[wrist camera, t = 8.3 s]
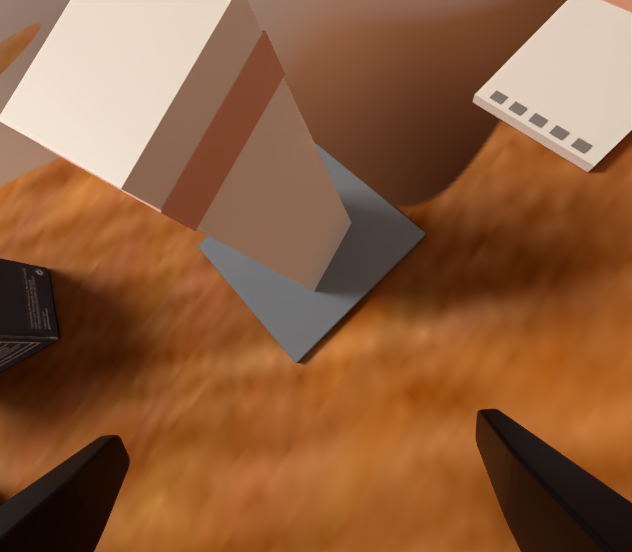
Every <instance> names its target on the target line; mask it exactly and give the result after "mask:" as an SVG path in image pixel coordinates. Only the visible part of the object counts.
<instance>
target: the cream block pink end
mask: <svg viewBox="0 0 632 552" xmlns="http://www.w3.org/2000/svg"><path fill="white" fill-rule="evenodd" d="M473 103H475V104H476V105H478V106H480V107H481V108H483V109H485V110H486V111H488V112H490V113H491V114H493V115H495V116H496V117H498V118H499V119H501V120H503V121H504V122H506V123H508V124H509V125H511V126H513V127H514V128H516V129H517V130H519V131H521V132H522V133H524V134H526V135H527V136H529V137H531V138H532V139H534V140H536V141H537V142H539V143H540V144H542V145H544V146H545V147H547V148H549V149H550V150H552V151H554V152H555V153H557V154H559V155H560V156H562V157H563V158H565V159H567V160H568V161H570V162H572V163H573V164H575V165H577V166H578V167H580V168H582V169H583V170H585V171H586V172H589V171H590V170H591V169H592V168H593V167H594V166H595V165H596V164H597V163H598V162H599V161H600V160H601V159H602V158H603V157H604V156H605V155H606V154H607V153H608V152H609V151H610V150H612V149H613V148H614V147H615V146H616V145H617V144H618V143H619V142H620V141H621V140H622V139H623V138H624V137H625V136H626V135H627V134H628V133H629V132H630V131H631V130H632V0H567V1H566V2H565V3H564V4H563V5H562V6H561V7H560V8H559V9H558V10H557V12H555V13H554V14H553V16H552V17H551V18H550V19H549V20H548V21H547V22H546V23H545V24H544V25H543V26H542V27H541V28H540V29H539V30H538V31H537V32H536V33H535V34H534V35H533V36H532V37H531V38H530V39H529V40H528V41H527V42H526V43H525V44H524V45H523V46H522V47H521V48H520V49H519V50H518V51H517V52H516V53H515V54H514V55H513V56H512V57H511V58H510V59H509V60H508V61H507V62H506V63H505V64H504V65H503V66H502V67H501V68H500V70H498V71H497V73H496V74H495V75H494V76H493V77H492V78H491V79H490V80H489V81H488V82H487V83H486V84H485V85H484V86H483V87H482V88H481V89H480V90H479V91H478V92H477V93H476V94H475V96H474V100H473Z"/></svg>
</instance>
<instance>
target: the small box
mask: <svg viewBox="0 0 632 552" xmlns="http://www.w3.org/2000/svg"><path fill="white" fill-rule="evenodd" d="M58 338H59V334H58V329H57V323H56V317H55V312H54V305H53V299H52V292H51V285H50V278H49V274H48V270H47V268H45V267H39V266H34V265H29V264H25V263H20V262H15V261H10V260H5V259H0V372H1V371H3V370H5V369H7V368H8V367H10V366H12V365H14V364H16V363H18V362H19V361H21V360H23V359H25V358H27V357H28V356H30V355H32V354H34V353H36V352H37V351H39V350H41V349H42V348H44V347H46V346H48V345H50V344H51V343H53V342H55V341H57V340H58Z"/></svg>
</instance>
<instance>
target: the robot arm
mask: <svg viewBox="0 0 632 552" xmlns="http://www.w3.org/2000/svg"><path fill="white" fill-rule="evenodd" d="M476 442H477V446H478V449H479V451H480V454H481V457H482V459H483V462H484V465H485V467H486V470H487V473H488V475H489V478H490V480H491V483H492V486H493V488H494V491H495V494H496V496H497V499H498V502H499V504H500V507H501V509H502V512H503V514H504V517H505V519H506V521H507V523H508V526H509V528H510V530H511V532H512V534H513V536H514V538H515V540H516V542H517V544H518V546H519V548H520V550H521V552H632V503H631V502H630V501H628V500H627V499H625V498H624V497H623V496H621V495H620V494H618V493H617V492H615V491H614V490H613V489H611V488H610V487H608V486H607V485H605V484H604V483H603V482H601V481H600V480H598V479H597V478H595V477H594V476H593V475H591V474H590V473H588V472H587V471H585V470H584V469H582V468H581V467H580V466H578V465H577V464H575V463H574V462H572V461H571V460H570V459H568V458H567V457H565V456H564V455H562V454H561V453H560V452H558V451H557V450H555V449H554V448H552V447H551V446H550V445H548V444H547V443H545V442H544V441H542V440H541V439H540V438H538V437H537V436H535V435H534V434H532V433H531V432H529V431H528V430H527V429H525V428H524V427H522V426H521V425H519V424H518V423H517V422H515V421H514V420H512V419H511V418H509V417H508V416H507V415H505V414H504V413H502V412H501V411H499V410H497V409H481V410H479V411H478V413H477V422H476ZM129 462H130V460H129V456H128V453H127V451H126V449H125V446H124V444H123V442H122V439H121V438H120V437H119V436H118V435H107V436H101V437H99V438H98V439H96V440H95V441H93V442H92V443H90V444H89V445H87V446H86V447H84V448H83V449H82V450H80V451H79V452H77V453H76V454H74V455H73V456H71V457H70V458H69V459H67V460H66V461H64V462H63V463H61V464H60V465H58V466H57V467H56V468H54V469H53V470H51V471H50V472H48V473H47V474H45V475H44V476H43V477H41V478H40V479H38V480H37V481H35V482H34V483H32V484H31V485H30V486H28V487H27V488H25V489H24V490H22V491H21V492H19V493H18V494H17V495H15V496H14V497H12V498H11V499H9V500H8V501H6V502H5V503H4V504H2V505H1V506H0V552H94V550H95V548H96V546H97V544H98V542H99V540H100V538H101V536H102V533H103V531H104V528H105V526H106V524H107V521H108V519H109V516H110V514H111V511H112V508H113V506H114V503H115V501H116V498H117V496H118V493H119V491H120V488H121V486H122V483H123V481H124V478H125V476H126V473H127V471H128V468H129Z"/></svg>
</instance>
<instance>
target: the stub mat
mask: <svg viewBox="0 0 632 552" xmlns="http://www.w3.org/2000/svg"><path fill="white" fill-rule="evenodd" d="M314 143H315V142H314ZM315 146H316V148H317V150H318V152H319V154H320V156H321V158H322V161H323V163H324V165H325V167H326V169H327V171H328V173H329V176H330V178H331V180H332V182H333V184H334V186H335V188H336V190H337V193H338V195H339V197H340V199H341V201H342V203H343V205H344V208H345V210H346V212H347V214H348V216H349V218H350V220H351V225H350V227H349V229H348V230H347V232H346V234H345V236H344V238H343V240H342V241H341V243H340V245H339V247H338V249H337V250H336V252H335V254H334V256H333V258H332V260H331V261H330V263H329V265H328V267H327V269H326V271H325V272H324V274H323V276H322V278H321V280H320V281H319V283H318V285H317V287H316V289H315V291H312V290H310V289H308V288H306V287H304V286H302V285H301V284H299V283H297V282H295V281H293V280H291V279H289V278H287V277H286V276H284V275H282V274H280V273H278V272H276V271H274V270H272V269H271V268H269V267H267V266H265V265H263V264H261V263H259V262H257V261H256V260H254V259H252V258H250V257H248V256H246V255H244V254H242V253H241V252H239V251H237V250H235V249H233V248H231V247H229V246H227V245H225V244H224V243H222V242H220V241H218V240H216V239H214V238H212V237H210V236H209V235H208V236H207V237H206V238H205V239H204V240H203V241H202V242H201V243H200V245H199V246H198V247H199V248H200V250H201V251H202V252H203V253H204V254H205V256H206V257H207V258H208V259H209V260H210V262H211V263H212V264H213V265H214V266H215V268H216V269H217V270H218V271H219V272H220V274H221V275H222V276H223V277H224V278H225V280H226V281H227V282H228V283H229V284H230V286H231V287H232V288H233V289H234V290H235V292H236V293H237V294H238V295H239V296H240V297H241V299H242V300H243V301H244V302H245V303H246V305H247V306H248V307H249V308H250V309H251V311H252V312H253V313H254V314H255V315H256V317H257V318H258V319H259V320H260V321H261V323H262V324H263V325H264V326H265V327H266V329H267V330H268V331H269V332H270V333H271V335H272V336H273V337H274V338H275V339H276V341H277V342H278V343H279V344H280V345H281V347H282V348H283V349H284V350H285V351H286V353H287V354H288V355H289V356H290V357H291V359H292V360H293V361H294V362H295V363H298V362H299V361H300V360H301V359H302V358H303V357H304V356H305V355H306V354H307V353H308V352H309V351H310V350H311V349H312V348H313V347H314V346H315V345H316V344H317V343H318V342H319V341H320V340H321V339H322V338H323V337H324V336H325V335H326V334H327V333H328V332H329V331H330V330H331V329H332V328H333V327H334V326H335V325H336V324H337V323H338V322H339V321H340V320H341V319H342V318H343V317H344V316H345V315H346V314H347V313H348V312H349V311H350V310H351V309H352V308H353V307H354V306H355V305H356V304H357V303H358V302H359V301H360V300H361V299H362V298H363V297H364V296H365V295H366V294H367V293H368V292H369V291H370V290H371V289H372V288H373V287H374V286H375V285H376V284H377V283H378V282H379V281H380V280H381V279H382V278H383V277H384V276H385V275H386V274H387V273H388V272H389V271H390V270H391V269H392V268H393V267H394V266H395V265H396V264H398V263H399V262H400V261H401V260H402V259H403V258H404V257H405V256H406V255H407V254H408V253H409V252H410V251H411V250H412V249H413V248H414V247H415V246H416V245H417V244H418V243H419V242H420V241H421V240H422V239H423V238H424V237H425V235H426V233H425V232H424V231H422V230H421V229H420V228H419V227H417V226H416V225H415V224H414V223H413V222H411V221H410V220H409V219H408V218H406V217H405V216H404V215H403V214H402V213H400V212H399V211H398V210H397V209H396V208H394V207H393V206H392V205H391V204H389V203H388V202H387V201H386V200H385V199H383V198H382V197H381V196H380V195H378V194H377V193H376V192H375V191H373V190H372V189H371V188H370V187H369V186H367V185H366V184H365V183H364V182H362V181H361V180H360V179H359V178H358V177H356V176H355V175H354V174H353V173H352V172H350V171H349V170H348V169H347V168H345V167H344V166H343V165H342V164H341V163H339V162H338V161H337V160H336V159H334V158H333V157H332V156H331V155H330V154H328V153H327V152H326V151H325V150H323V149H322V148H321V147H320V146H319V145H317V144H316V143H315Z"/></svg>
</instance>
